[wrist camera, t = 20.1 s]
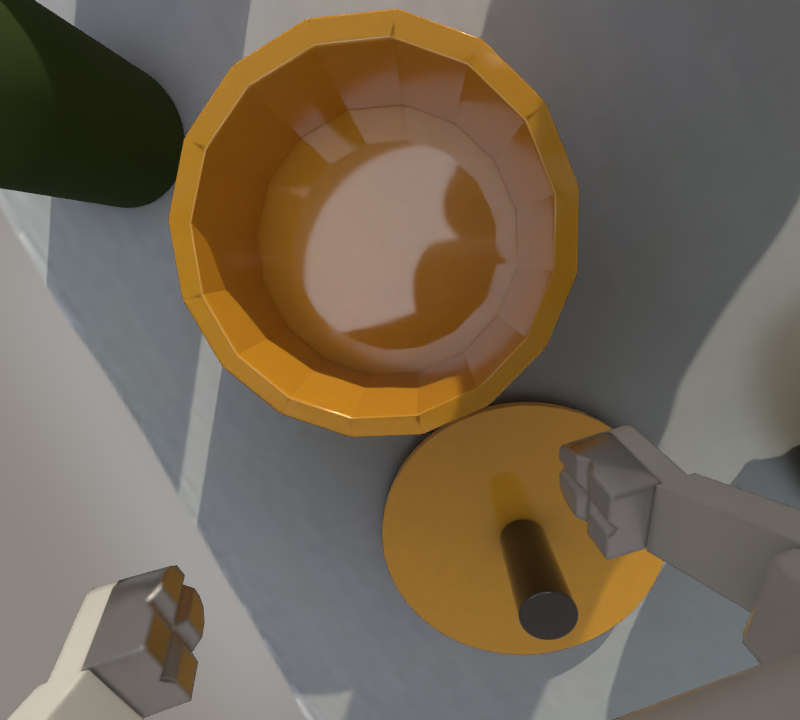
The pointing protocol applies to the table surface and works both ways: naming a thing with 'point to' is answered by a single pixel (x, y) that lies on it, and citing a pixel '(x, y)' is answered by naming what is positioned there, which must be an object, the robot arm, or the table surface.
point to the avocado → (80, 115)
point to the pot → (375, 223)
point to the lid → (505, 535)
